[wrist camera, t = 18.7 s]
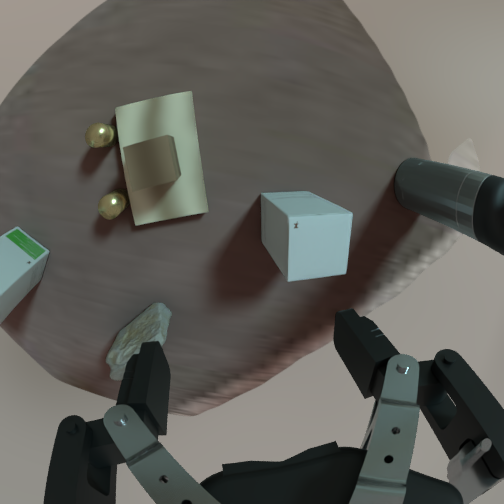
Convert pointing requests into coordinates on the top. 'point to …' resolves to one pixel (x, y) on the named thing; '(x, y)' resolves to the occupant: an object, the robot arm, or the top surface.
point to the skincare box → (19, 268)
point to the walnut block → (152, 162)
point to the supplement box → (305, 234)
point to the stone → (137, 337)
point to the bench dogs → (118, 198)
